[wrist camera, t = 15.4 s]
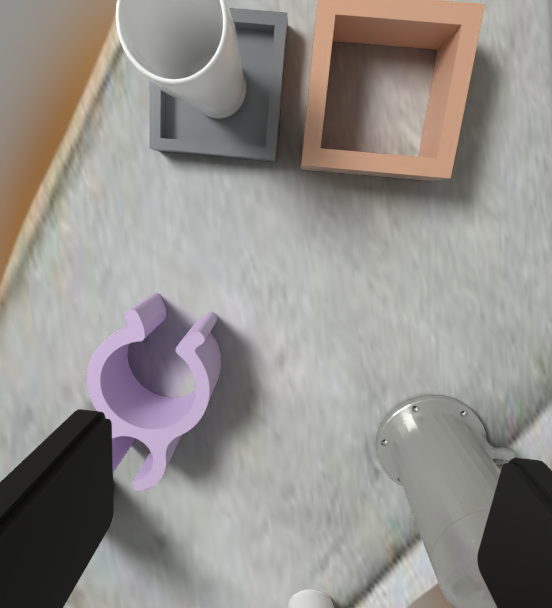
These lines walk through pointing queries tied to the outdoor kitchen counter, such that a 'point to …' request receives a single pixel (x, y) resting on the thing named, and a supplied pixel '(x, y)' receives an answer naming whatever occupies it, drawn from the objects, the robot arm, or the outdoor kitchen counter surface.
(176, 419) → the clip
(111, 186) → the outdoor kitchen counter surface
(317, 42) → the terracotta holder
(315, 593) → the foam cup
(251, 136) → the charcoal tray
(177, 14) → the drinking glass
